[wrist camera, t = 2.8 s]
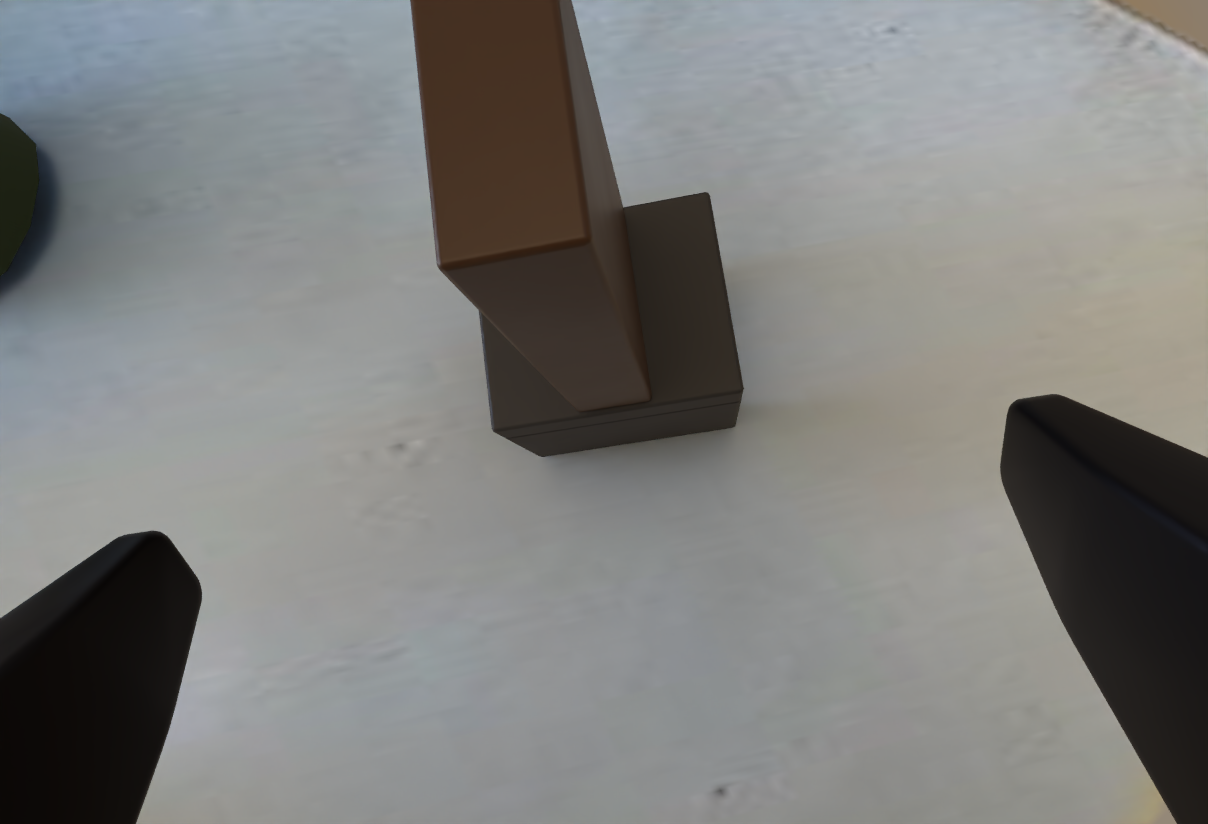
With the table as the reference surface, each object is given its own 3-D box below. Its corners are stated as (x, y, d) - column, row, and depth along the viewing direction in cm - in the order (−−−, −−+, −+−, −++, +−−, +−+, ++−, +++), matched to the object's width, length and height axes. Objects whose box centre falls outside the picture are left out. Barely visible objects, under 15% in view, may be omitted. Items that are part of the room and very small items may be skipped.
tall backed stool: (735, 427, 19) (788, 216, 7) (539, 457, 19) (259, 312, 7) (708, 268, 20) (711, -179, 8) (521, 302, 20) (239, -65, 8)
